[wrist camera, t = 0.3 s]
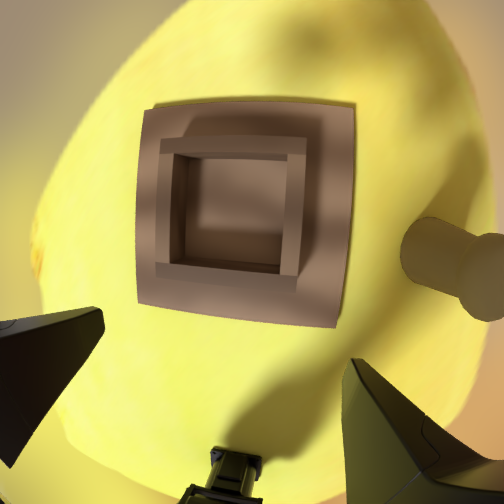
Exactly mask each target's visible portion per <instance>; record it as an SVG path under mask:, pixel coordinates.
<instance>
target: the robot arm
mask: <svg viewBox="0 0 504 504" xmlns="http://www.w3.org/2000/svg"><path fill="white" fill-rule="evenodd" d="M104 332H105V324H104V317H103V312H102V310H101V309H100V308H97V307H94V306H91V307H85V308H80V309H74V310H68V311H63V312H57V313H51V314H45V315H39V316H33V317H27V318H20V319H18V320H17V319H14V320H7V321H0V459H1V460H2V461H3V462H4V463H5V465H6V466H8V468H9V469H10V468H11V467H12V466H13V465H14V463H15V461H16V460H17V458H18V456H19V455H20V453H21V452H22V450H23V448H24V447H25V445H26V444H27V442H28V441H29V439H30V438H31V436H32V435H33V432H34V431H35V430H36V429H37V427H38V425H39V424H40V423H41V421H42V420H43V418H44V417H45V415H46V414H47V413H48V411H49V410H50V408H51V407H52V406H53V404H54V403H55V401H56V400H57V399H58V397H59V396H60V395H61V393H62V392H63V391H64V389H65V388H66V387H67V385H68V384H69V383H70V381H71V380H72V379H73V377H74V376H75V375H76V373H77V372H78V371H79V369H80V368H81V367H82V366H83V364H84V363H85V362H86V360H87V359H88V357H89V356H90V354H91V353H92V351H93V349H94V348H95V346H96V345H97V343H98V342H99V340H100V339H101V337H102V336H103V334H104ZM341 421H342V433H343V444H344V457H345V473H346V494H347V504H504V460H492V459H488V458H485V457H483V456H481V455H480V454H478V453H477V452H475V451H474V450H472V449H471V448H469V447H468V446H466V445H465V444H463V443H462V442H460V441H459V440H458V439H456V438H455V437H453V436H452V435H451V434H449V433H448V432H447V431H445V430H444V429H443V428H441V427H440V426H439V425H438V424H437V423H435V422H434V421H433V420H432V419H431V418H430V417H428V416H427V415H426V416H425V413H424V412H423V411H421V410H420V409H419V408H418V407H417V406H416V405H414V404H413V403H412V402H411V401H410V400H409V399H408V398H406V397H405V396H404V395H403V394H402V393H401V392H400V391H398V390H397V389H396V388H395V387H394V386H393V385H392V384H390V383H389V382H388V381H387V380H386V379H385V378H384V377H383V376H381V375H380V374H379V373H378V372H377V371H376V370H375V369H373V368H372V367H371V366H370V365H369V364H368V363H367V362H365V361H364V360H363V359H359V358H351V359H350V360H349V362H348V365H347V368H346V370H345V373H344V376H343V379H342V419H341ZM210 453H211V466H212V469H211V472H210V475H209V477H208V480H207V483H206V485H205V488H204V487H200V486H197V485H195V484H192V483H191V485H190V487H188V488H187V489H186V491H185V493H184V495H183V496H182V498H181V499H180V501H179V502H178V503H177V504H262V501H263V498H253V497H251V495H252V490H253V486H254V481H258V479H259V473H260V467H261V461H262V458H261V457H260V456H253V455H246V454H240V453H234V452H228V451H223V450H218V449H211V452H210ZM0 504H11V503H10V502H9V501H8V500H7V499H6V498H5V497H4V496H3V495H2V494H1V493H0Z"/></svg>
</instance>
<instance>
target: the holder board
mask: <svg viewBox="0 0 504 504" xmlns="http://www.w3.org/2000/svg"><path fill="white" fill-rule="evenodd" d="M353 161H354V113H353V108H348V107H340V106H332V105H322V104H311V103H297V102H274V101H237V102H214V103H200V104H189V105H179V106H171V107H163V108H156V109H149V110H144V117H143V124H142V132H141V141H140V150H139V161H138V174H137V190H136V219H135V251H136V280H137V296H138V303H140V304H145V305H150V306H155V307H161V308H166V309H172V310H178V311H184V312H190V313H196V314H203V315H209V316H216V317H224V318H231V319H239V320H247V321H255V322H264V323H274V324H284V325H295V326H307V327H321V328H336V325H337V319H338V313H339V307H340V301H341V295H342V288H343V281H344V274H345V266H346V258H347V249H348V240H349V230H350V218H351V204H352V188H353Z"/></svg>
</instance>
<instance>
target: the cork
mask: <svg viewBox="0 0 504 504" xmlns="http://www.w3.org/2000/svg"><path fill="white" fill-rule="evenodd" d="M400 258H401V263H402V268H403V270H404V271H405V273H406V275H407V276H408V277H409V278H410V279H411V280H412V281H413V282H415V283H418V284H421V285H424V286H426V287H429V288H432V289H435V290H438V291H441V292H443V293H446V294H449V295H452V296H455V297H457V298H459V300H460V303H461V304H462V306H463V308H464V309H465V310H466V311H467V312H468V313H469V314H470V315H471V316H472V317H474V318H475V319H478V320H481V321H485V322H490V321H495V320H499V319H501V318H502V317H504V235H503V234H498V233H487V234H483V235H481V236H479V237H478V236H475V235H473V234H471V233H469V232H467V231H465V230H463V229H460V228H458V227H456V226H454V225H451V224H449V223H447V222H444V221H442V220H440V219H437V218H435V217H425V218H422V219H420V220H417V221H416V222H415V223H414V224H413V225H411V226H410V227H409V229H408V231H407V232H406V234H405V235H404V238H403V241H402V244H401V253H400Z"/></svg>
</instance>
